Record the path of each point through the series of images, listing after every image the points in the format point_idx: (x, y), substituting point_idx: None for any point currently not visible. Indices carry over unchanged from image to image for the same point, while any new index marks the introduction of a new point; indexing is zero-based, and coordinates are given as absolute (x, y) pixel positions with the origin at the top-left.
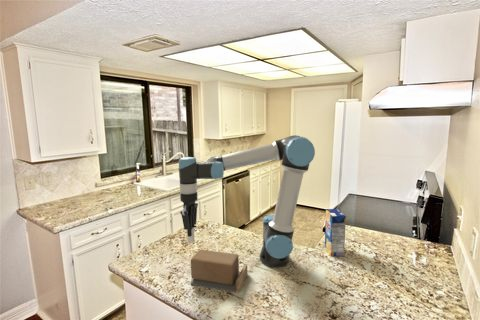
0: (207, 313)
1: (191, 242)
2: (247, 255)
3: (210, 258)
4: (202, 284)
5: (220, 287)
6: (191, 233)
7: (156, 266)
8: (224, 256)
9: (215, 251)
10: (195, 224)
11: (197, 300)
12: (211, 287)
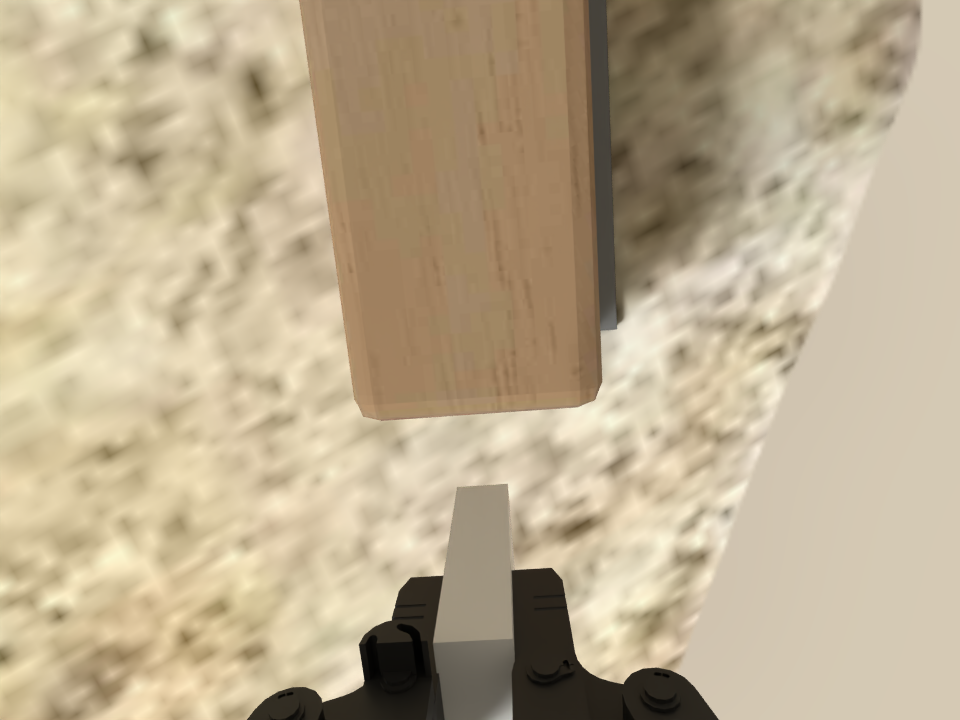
0: (902, 22)
1: (509, 510)
2: (3, 27)
3: (521, 180)
4: (604, 229)
5: (598, 55)
6: (512, 597)
7: None
8: (415, 17)
9: (332, 207)
10: (311, 691)
11: (780, 176)
12: (609, 140)
